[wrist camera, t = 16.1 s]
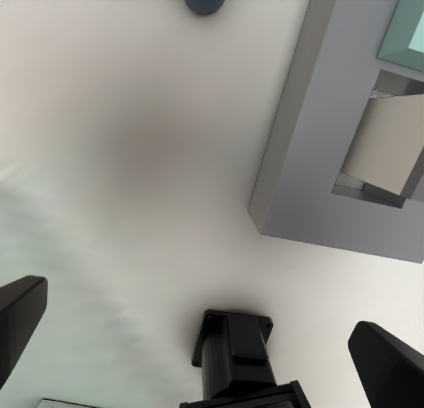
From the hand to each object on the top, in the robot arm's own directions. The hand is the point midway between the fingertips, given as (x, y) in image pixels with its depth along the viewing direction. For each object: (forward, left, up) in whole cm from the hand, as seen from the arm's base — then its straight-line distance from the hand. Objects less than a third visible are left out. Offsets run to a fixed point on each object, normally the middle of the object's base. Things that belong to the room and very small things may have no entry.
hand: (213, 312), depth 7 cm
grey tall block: (+6, -10, -12) cm, 17 cm away
